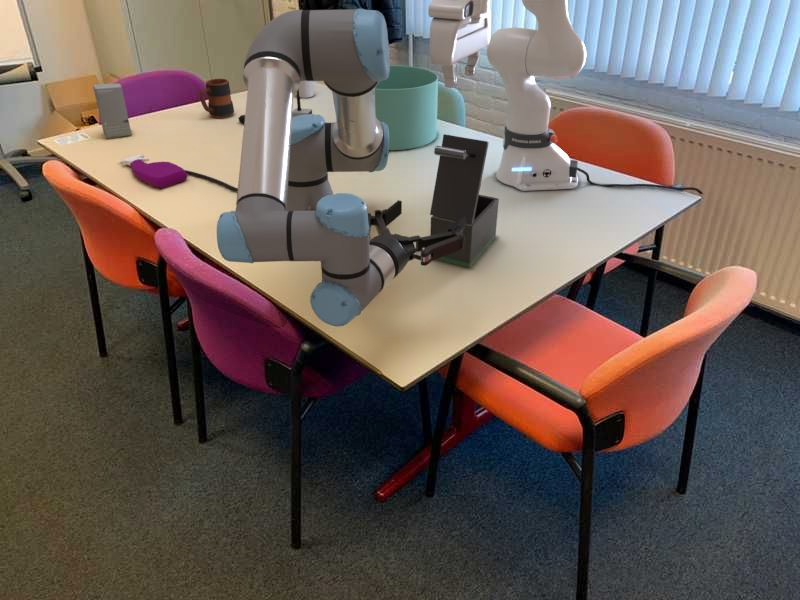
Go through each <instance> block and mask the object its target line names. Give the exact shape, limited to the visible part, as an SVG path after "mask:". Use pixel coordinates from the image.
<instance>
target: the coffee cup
mask: <svg viewBox="0 0 800 600" xmlns="http://www.w3.org/2000/svg"><path fill="white" fill-rule="evenodd" d="M314 84H315V81H300V86H299V97H300V99H302V98H303V99H307V98H311V97H314V95H315V92H314V91H315V90H314V86H315V85H314ZM295 94H296V95H297V92H296V93H295Z"/></svg>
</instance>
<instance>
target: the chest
mask: <svg viewBox="0 0 800 600" xmlns="http://www.w3.org/2000/svg"><path fill="white" fill-rule="evenodd" d="M499 201H500V199H499V197H498V198H497V197H493V196H488V195H484V194H479V196H478V202H477V207H476V212H475V218H474V223H473V224H469V223H465V229H464V230H463V235H464V249H462V250H460V251H457V252H455V253H452V254H449V255H447V256H444V257H441V258H439V259H436V260H437V261H441V262H445V263H448V264H453V265H455V266H461V267H465V268H469V269H470V268H471V267H472V266H473V265H474V263H475V262H476V261H477V260H478V259H479V258H480V257H481V255H482V254H483V253H484V252H485V250H486V249H487V248H488V247H489V246H490V245H491V244H492V242H493V241H494V240H495V239H496V235H497V225H498V224H497V223H498V213H499V204H500V203H499ZM455 221H456V220H451V219H447V218H442V217H438V216H433V215H431V217H430V232H429V233H430V234H429V236H430V235H435V234H440V233H445V232H448V228H449V227H450V226H451V225H452V224H453V223H454V222H455ZM436 260H435V261H436Z"/></svg>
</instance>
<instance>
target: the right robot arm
mask: <svg viewBox="0 0 800 600" xmlns="http://www.w3.org/2000/svg"><path fill="white" fill-rule="evenodd" d="M521 2H522V5H523V6H524V8H525V9H526V10H527V11H529V12H530V13H531V14H532V15H533V16H535V17H534V18H535V19H536V21H537V28H538V29H531V28H525V27H515V26H514V27H505V28H499V29H497V30H495V31H494V32H493V34H492V11H491V10H492V9H491V8H490V7H491V6H490V4H491V0H431V1H430V3H429V5H428V10H427V11H428V17H429V18H432V19H431V21H430V24H429V25H430V26H429V58H430V61H431V63H432V64H433V66H439V67H441V71H442V74H443V77H444V87H445V88H448V89H453V88H454V87H456V86H457V83H458V82H457V81H458V76H456V72H455V69H456V68H457V67H456V66H457V63H458V62H460V61H463V60H465V59H466V58H467V60H466V65H465V66H464V75H465V76H468V77H473V76H474V75H476V74H477V66H478V63H479V59H480V56H481V50H484V49H485V48H486V57H487V60H488V62H489V65H490V66H491V67H492V68H493V69H494V70H495V71H496V73H497V74H498V76H499V77H500V79H501V81H502V84H503V86H504V88H505V93H506V97H507V98H506V99H507V114H506V115H507V116H506V125H505V127H504V131H503V135H502V136H503V137H502V148H503V149H502V151H503V152H502V154H501V159H500V162H499V167H498V169H497V172H496V175H495V177H496V180H498V181H499V182H501V183H502V184H504V185H507V186H511V187H515V189H517V190H519V191H522V192H529V191H530V192H531V191H550V190H551V191H552V190H572V189H576V188H577V186H578V184H579V178H578V175H577V172H580V173H582V174H584V175H585V177H586V181H587V183H588V184H590V185H592V186H597V187H599V186H600V187H605V188H611V187H612V188H614V187H615V188H616V187H618V188H619V187H620V188H631V187H632V188H633V187H634V188H635V187H645V188H646V187H647V188H648V187H649V188H660V189H667V190H674V191H695V192H697V193H698V194H699V195H704V192H703V191H702V190H701V189H700V188H697V187H692V186H689V187H678V186H669V185H664V184H663V185H662V184H654V183H653V184H652V183H608V184H607V183H606V184H605V183H604V184H602V183H601V184H600V183H596V182H594V181H591V180H590V175H589V173H588V172H587V171H586V170H584V169H582V168H579V167H578V165H579V163H578V162H579V160H575V159H570V157H569V155H568V154H567V153H566V152H565V151H564V150H563V149H561V148H560V147H559V146H558V145H557V143H558V141H559V138H558V135H557V134H555V131H554V130H553V129H552V127H551V128H549V121H550V114H551V107H552V104H551V99H550V97H549V95H548V94H547V92H545V91H544V90H543V89H541V87H539V85H538V84H537V82H536V79H535V78H541V79H547V80H548V79H549V80H554V81H555V80H569V79H570V80H571V79H574V78H576V76H578V75H579V74H580V72H581V71H582V70H583V67H584V66H585V65H586V59H587V48H586V45H585V43H584V41H583V40H582V38H581V37H580V36H579V35H578V34H577V32H576V31H575V29H574V26H573V25H572V22H571V19H570V15H569V5H568V2H569V0H521Z"/></svg>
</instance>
